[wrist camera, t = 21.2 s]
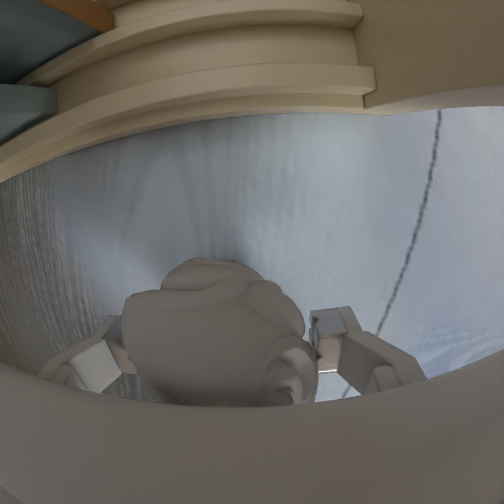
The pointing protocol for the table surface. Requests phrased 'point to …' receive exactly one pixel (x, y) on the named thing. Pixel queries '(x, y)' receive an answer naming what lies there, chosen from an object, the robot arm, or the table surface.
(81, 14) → the window pane
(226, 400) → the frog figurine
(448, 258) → the table surface
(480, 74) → the window frame
